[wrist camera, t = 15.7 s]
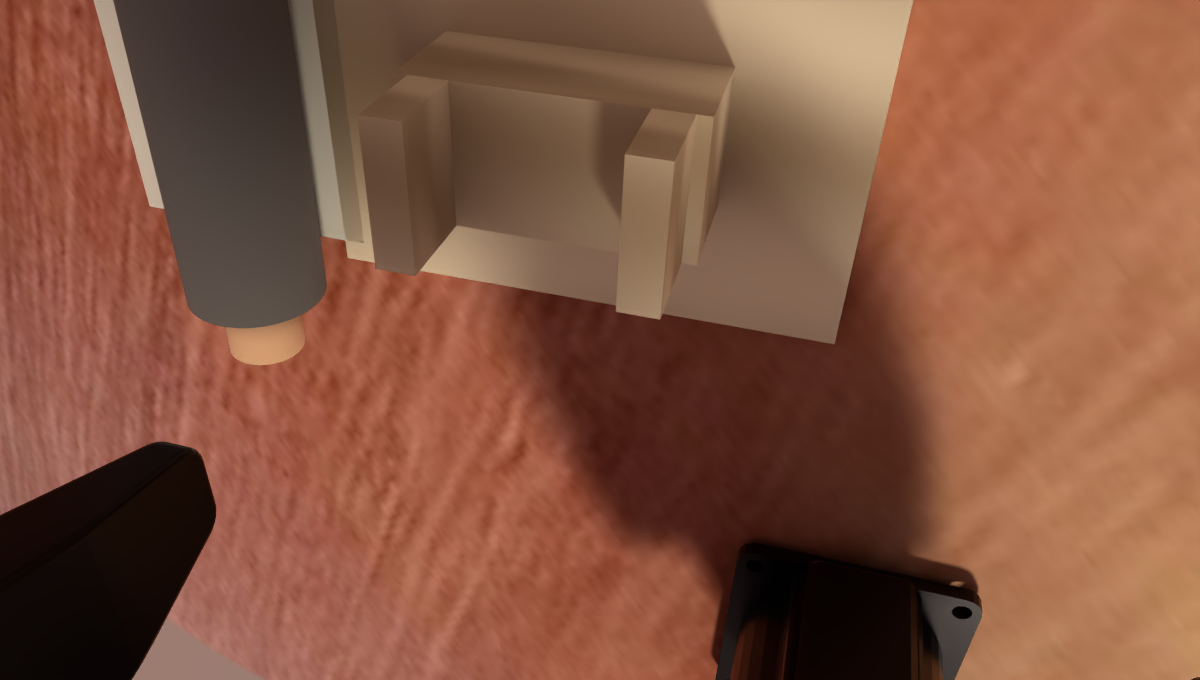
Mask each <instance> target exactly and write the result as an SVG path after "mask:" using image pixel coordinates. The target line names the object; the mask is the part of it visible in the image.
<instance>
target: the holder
mask: <svg viewBox="0 0 1200 680" xmlns="http://www.w3.org/2000/svg"><path fill="white" fill-rule="evenodd" d="M315 1H316V0H314V1H313V0H312V3H313V5H314V6H313V8H315V9H313V10H314V18H315V22H316V23H315V25H317V27H316V32H317V35H318V34H319V35H318V36H317V37H318V38H317V39H318V40H319V41H318V42H319V43H318V46H320V47H321V48H319V50H320V51H319V54H320V60H321V59H322V58H323V57H326V56H327V57H328V56H329V54H330V59H329V58H328V59H325V58H323V59H322V60H321V65H323V64H326V65H327V64H328V63H329V65H327V66H325V65H324V67H326V68H322V67H321V68H322V70H323V71H322V75H323V78H324V77H325V79H323V80H324V81H323V82H325V83H324V88H325V89H324V90H326V91H325V95H326V96H325V97H326V99H327V100H326V102H327V103H326V104H327V108H328V109H327V111H328V116H329V115H330V114H331V115H330V116H329V117H328V118H330V119H331V118H332V119H331V121H332V120H333V122H331V121H330V119H329V122H331V123H332V124H331V123H329V125H330V124H331V125H332V127H331V125H330V128H331V129H330V133H331V134H332V135H331V138H333V137H335V138H333V139H331V140H333V141H334V142H333V141H332V143H333V144H332V146H334V147H333V148H334V149H333V150H335V149H337V148H339V147H340V148H342V149H343V150H342V149H341V151H342V153H340V152H341V151H340V148H339V149H337V150H335V152H333V154H335V153H336V154H335V155H334V161H335V163H336V162H337V161H338V162H339V163H336V164H335V166H336V165H337V166H336V168H335V169H336V174H337V179H338V180H337V182H338V181H339V182H340V181H342V180H343V182H340V183H338V190H339V196H340V192H342V193H341V194H342V195H341V196H340V202H341V201H344V200H345V199H346V200H345V201H344V202H341V203H340V205H341V207H342V208H343V207H344V206H345V207H346V208H347V209H346V210H345V207H344V208H343V209H344V210H345V211H344V210H342V208H341V210H342V214H344V213H346V215H347V216H348V217H349V218H348V217H346V215H345V214H344V216H345V218H343V217H344V216H343V215H342V218H343V226H344V227H345V228H344V231H345V230H346V231H345V232H346V233H347V234H346V233H345V238H349V239H350V237H351V239H350V241H349V239H345V241H346V248H347V255H348V258H352V259H357V260H363V261H369V262H374V263H375V269H380V270H385V271H391V272H397V273H402V274H408V275H413V276H416V275H417V274H418V272H419V271H425V272H430V273H436V274H442V275H447V276H453V277H459V278H464V279H470V280H475V281H481V282H487V283H492V284H498V285H504V286H509V287H515V288H520V289H526V290H532V291H537V292H543V293H549V294H554V295H560V296H565V297H571V298H577V299H582V300H588V301H594V302H599V303H605V304H610V305H616V312H620V313H626V314H631V315H637V316H642V317H648V318H654V319H659V320H660V319H661V316H662V314H667V315H672V316H678V317H684V318H689V319H695V320H700V321H706V322H712V323H717V324H723V325H729V326H734V327H740V328H745V329H751V330H757V331H762V332H768V333H774V334H779V335H785V336H790V337H796V338H802V339H807V340H813V341H819V342H824V343H830V344H835V340H836V336H837V331H838V327H839V322H840V318H841V314H842V309H843V305H844V301H845V296H846V292H847V287H848V283H849V279H850V274H851V270H852V266H853V261H854V257H855V252H856V248H857V244H858V239H859V235H860V231H861V226H862V222H863V218H864V213H865V209H866V204H867V200H868V196H869V191H870V187H871V183H872V178H873V174H874V169H875V165H876V161H877V156H878V152H879V148H880V143H881V139H882V134H883V130H884V126H885V121H886V117H887V113H888V108H889V104H890V99H891V95H892V91H893V86H894V82H895V78H896V73H897V69H898V65H899V60H900V56H901V51H902V47H903V43H904V38H905V34H906V30H907V25H908V21H909V16H910V12H911V8H912V3H913V0H332V1H331V0H327V1H323V0H322V1H321V0H320V1H318V0H317V1H316V2H317V3H316V2H315ZM329 1H330V2H332V3H333V4H334V5H332V3H331V4H330V2H329ZM324 2H325V3H324ZM326 2H329V3H326ZM329 4H330V5H329ZM316 5H318V6H316ZM323 5H324V6H323ZM319 6H320V7H319ZM328 6H329V7H328ZM330 6H331V7H330ZM316 7H317V9H316ZM318 7H319V8H318ZM323 7H324V8H323ZM329 8H330V9H329ZM333 8H334V9H333ZM318 9H319V10H318ZM315 10H316V11H315ZM327 10H328V12H327ZM329 10H330V11H329ZM332 10H333V11H332ZM319 11H320V12H319ZM323 11H326V12H325V13H324V12H323ZM331 11H332V12H331ZM334 11H335V13H333V12H334ZM321 12H323V13H321ZM320 13H321V14H320ZM330 13H333V15H332V14H331V15H330ZM318 15H319V16H318ZM325 15H327V16H326V17H325ZM320 16H321V17H320ZM322 16H324V17H322ZM333 16H335V17H333ZM316 17H318V18H319V17H320V18H321V19H322V20H321V19H320V18H319V19H320V20H319V19H318V18H316ZM329 18H330V19H331V20H330V19H329ZM324 20H325V22H322V21H324ZM326 20H328V21H326ZM329 20H330V21H329ZM332 20H333V21H332ZM335 20H336V21H335ZM319 21H321V22H322V23H321V22H319ZM318 22H319V23H318ZM328 22H329V23H328ZM331 22H332V23H331ZM333 23H334V24H333ZM323 24H325V25H323ZM326 24H328V25H327V26H326ZM330 24H332V25H330ZM335 24H336V27H332V28H331V26H335ZM319 25H320V27H319ZM329 26H330V28H329ZM325 27H326V29H324V28H325ZM322 28H323V30H322ZM328 28H329V29H328ZM334 28H335V29H334ZM332 29H333V30H334V31H333V30H332ZM318 30H322V31H319V33H318ZM328 30H329V31H328ZM330 30H331V31H330ZM323 31H324V34H323ZM335 31H336V32H337V33H335ZM326 32H327V35H328V36H329V34H330V35H331V34H335V36H333V35H332V36H329V37H327V36H326ZM321 33H322V35H320V34H321ZM322 36H323V37H324V36H325V37H324V38H323V37H322ZM337 36H338V37H337ZM320 37H322V38H323V39H322V38H320ZM334 37H335V38H336V37H337V38H336V39H335V38H334ZM332 38H333V39H332ZM327 39H329V41H330V42H331V43H332V42H333V41H334V43H333V44H331V43H330V42H327V41H328V40H327ZM334 39H335V40H334ZM325 40H326V41H325ZM337 40H339V43H338V41H337ZM320 41H322V42H320ZM335 41H336V42H335ZM323 42H325V43H324V44H323ZM320 43H322V44H320ZM326 43H327V44H326ZM328 44H330V45H331V46H329V45H328ZM337 44H338V45H337ZM324 45H326V47H324ZM334 45H335V46H336V45H337V46H338V47H337V46H336V47H333V46H334ZM327 46H328V47H327ZM332 47H333V48H332ZM326 48H327V50H326ZM329 48H330V49H329ZM337 48H338V49H337ZM323 49H325V50H323ZM335 49H336V50H335ZM328 50H329V51H328ZM335 51H337V52H335ZM324 52H327V53H324ZM328 52H329V53H328ZM330 52H331V53H330ZM332 52H333V53H332ZM338 52H339V53H338ZM322 53H323V54H324V56H323V54H322ZM335 53H336V54H335ZM332 54H334V55H332ZM322 56H323V57H322ZM340 56H341V57H340ZM327 57H326V58H327ZM336 57H337V59H336ZM333 58H335V59H333ZM338 59H339V60H338ZM327 60H328V61H327ZM329 60H330V61H329ZM331 60H332V61H331ZM335 60H337V62H336V61H335ZM324 61H325V62H326V63H325V62H324ZM334 61H335V63H334V64H333V62H334ZM339 61H341V62H340V64H341V66H340V64H339ZM323 62H324V63H323ZM322 63H323V64H322ZM330 63H331V65H332V69H331V68H329V69H327V68H328V66H329V67H331V65H330ZM336 63H337V64H336ZM338 64H339V66H336V67H335V68H334V66H335V65H338ZM338 68H339V69H338ZM341 68H342V69H341ZM324 69H325V71H324ZM334 70H336V72H334ZM327 71H328V72H329V71H330V72H329V73H330V74H329V73H328V72H327ZM340 71H341V73H340ZM332 72H333V73H332ZM337 72H338V73H337ZM342 72H343V74H342ZM325 73H326V74H325ZM328 74H329V75H328ZM334 74H336V76H335V75H334ZM339 74H341V75H339ZM331 75H333V77H332V76H331ZM338 76H339V78H338ZM341 76H342V77H341ZM326 77H327V78H326ZM329 77H330V78H329ZM334 77H335V78H334ZM331 78H332V79H333V80H332V79H331ZM336 78H338V79H336ZM329 79H330V80H329ZM327 80H328V81H327ZM331 80H332V81H331ZM336 80H337V81H336ZM339 80H340V81H339ZM342 80H343V81H344V82H342ZM330 81H331V82H330ZM333 81H334V82H333ZM335 81H336V83H335ZM326 82H327V84H326ZM339 82H340V83H339ZM338 83H339V85H338ZM342 83H343V84H342ZM331 84H333V85H334V86H333V85H331ZM336 84H337V85H336ZM335 85H336V86H337V88H334V87H336V86H335ZM340 85H341V86H340ZM343 85H344V86H343ZM330 86H331V89H332V88H333V89H332V90H331V93H330ZM342 86H343V87H342ZM327 87H328V88H327ZM338 87H339V88H338ZM341 87H342V88H341ZM327 89H329V90H327ZM342 89H344V90H342ZM335 90H336V91H335ZM340 90H341V91H340ZM328 91H329V92H328ZM333 91H334V93H333ZM326 92H327V93H326ZM343 92H344V93H345V94H344V93H343ZM329 93H330V96H329ZM332 93H333V94H332ZM341 93H342V94H344V95H342V94H341ZM337 94H340V95H341V96H340V95H338V96H340V97H338V98H339V99H337V96H336V95H337ZM334 95H335V96H336V98H335V96H334ZM331 96H332V97H331ZM333 96H334V97H333ZM344 96H346V97H345V98H344ZM327 97H329V98H327ZM330 97H331V98H330ZM342 98H344V99H342ZM340 99H341V101H340ZM331 100H334V101H335V100H336V101H335V103H337V105H336V104H335V103H334V101H332V102H331ZM338 100H339V101H338ZM345 100H346V101H345ZM338 102H341V103H338ZM342 102H343V103H342ZM329 104H330V105H329ZM332 104H333V105H332ZM334 104H335V105H336V106H337V107H336V106H335V105H334ZM339 104H340V105H339ZM346 105H347V106H346ZM328 106H329V107H328ZM333 106H335V107H333ZM341 106H342V107H341ZM343 106H344V107H343ZM331 107H332V108H331ZM335 108H336V109H335ZM338 108H340V109H341V110H342V111H340V109H338ZM329 109H331V110H332V111H331V110H330V111H329ZM333 109H334V110H333ZM345 109H346V110H347V111H346V110H345ZM337 110H338V111H337ZM336 111H337V112H338V113H340V114H341V115H339V114H338V113H337V114H336ZM339 111H340V112H339ZM331 112H332V113H333V114H332V113H331ZM346 112H347V114H346V115H344V114H345V113H346ZM334 113H335V114H334ZM336 115H337V116H338V118H337V116H336ZM341 116H343V117H344V119H345V117H348V118H346V119H345V120H344V119H343V117H342V118H341ZM334 117H335V118H334ZM340 118H341V119H340ZM338 119H339V120H338ZM334 120H335V121H336V123H335V121H334ZM340 120H341V121H342V122H341V121H340ZM347 120H348V121H347ZM344 121H345V122H344ZM346 121H347V122H348V123H346ZM343 122H344V123H345V124H343ZM338 123H339V124H340V126H339V124H338ZM336 124H337V125H336ZM341 124H342V125H341ZM344 125H346V126H345V127H344ZM347 125H348V126H347ZM333 126H334V127H333ZM341 126H342V127H341ZM340 127H341V128H340ZM343 127H344V128H343ZM337 128H338V129H337ZM339 128H340V129H339ZM349 128H350V129H349ZM332 129H333V130H334V131H333V130H332ZM336 129H337V130H336ZM345 129H347V131H346V130H345ZM343 130H344V131H343ZM336 131H337V132H336ZM334 132H335V133H337V134H334ZM338 132H339V134H338ZM348 132H350V133H348ZM340 133H341V136H339V135H340ZM345 133H347V135H346V134H345ZM343 134H345V135H344V136H343ZM332 136H333V137H332ZM338 136H339V137H338ZM336 137H337V138H336ZM344 137H345V138H347V139H346V140H345V138H344ZM340 139H342V141H343V142H342V141H341V140H340ZM336 140H338V141H336ZM335 141H336V142H337V143H335ZM345 141H349V142H348V143H350V144H348V143H347V142H346V143H347V144H346V143H345ZM350 141H351V142H350ZM340 144H341V146H340ZM343 144H344V145H343ZM342 145H343V146H342ZM347 145H349V146H350V147H348V146H347ZM337 146H338V147H337ZM335 147H336V148H335ZM344 147H345V148H344ZM349 149H350V150H349ZM351 149H352V150H351ZM338 150H339V151H340V152H339V151H338ZM344 150H345V151H346V152H345V151H344ZM347 150H349V151H347ZM343 151H344V152H343ZM338 152H339V153H338ZM351 152H352V153H351ZM348 153H349V154H348ZM350 153H351V155H350ZM338 154H339V155H338ZM345 154H346V155H348V156H349V157H350V156H351V159H350V158H349V159H347V158H348V157H347V156H346V155H345ZM336 156H337V157H338V158H337V157H336ZM339 156H340V157H339ZM342 156H344V157H342ZM335 157H336V159H335ZM341 157H342V158H341ZM343 158H344V159H345V158H346V159H345V160H344V159H343ZM352 159H353V160H352ZM343 160H344V161H343ZM342 161H343V162H342ZM351 161H352V162H351ZM349 162H350V163H349ZM345 163H348V164H345ZM342 164H345V165H342ZM338 165H339V166H338ZM340 165H341V166H340ZM349 165H351V168H349V167H350V166H349ZM352 165H354V166H352ZM342 166H343V167H345V168H343V167H342ZM346 166H347V168H346ZM348 166H349V167H348ZM340 167H341V168H340ZM352 167H353V168H352ZM338 169H340V170H338ZM341 169H342V170H341ZM345 169H346V170H345ZM348 169H349V171H350V172H351V171H352V172H351V173H350V172H348ZM350 169H352V170H350ZM353 169H355V171H353ZM337 171H338V172H337ZM344 171H345V172H344ZM346 172H347V174H346ZM354 172H355V174H354ZM341 173H342V174H343V175H342V174H341ZM340 174H341V175H340ZM350 174H351V175H350ZM352 174H354V175H352ZM344 175H346V176H344ZM341 176H343V177H341ZM353 176H354V178H353ZM355 176H356V177H355ZM338 177H339V178H338ZM344 177H345V178H344ZM350 177H351V178H352V179H351V178H350ZM343 178H344V179H343ZM348 178H349V180H348ZM346 179H347V180H346ZM353 180H355V181H353ZM351 181H352V182H351ZM348 182H350V185H349V183H348ZM347 183H348V184H347ZM356 183H357V184H356ZM343 184H344V185H343ZM355 184H356V186H357V187H354V186H355ZM339 185H341V187H339ZM345 185H346V186H345ZM342 186H344V187H342ZM349 186H350V187H349ZM346 187H347V188H346ZM343 188H346V190H345V189H343ZM356 188H357V190H356ZM340 189H341V191H340ZM347 190H348V191H349V190H350V191H349V192H346V191H347ZM353 190H354V191H355V190H356V191H355V192H354V191H353ZM343 192H344V193H343ZM351 192H354V193H355V194H356V192H357V194H356V196H355V194H354V193H352V195H353V196H352V195H351V194H349V193H351ZM346 194H347V195H346ZM348 195H349V196H348ZM344 196H346V197H347V198H346V197H344ZM354 197H355V198H354ZM342 198H343V199H342ZM350 198H353V199H354V203H353V202H352V201H353V199H350ZM356 198H357V199H356ZM347 199H348V200H347ZM355 199H356V200H355ZM349 200H351V201H349ZM357 200H359V201H358V203H357V202H355V201H357ZM351 202H352V203H353V204H354V205H353V204H351ZM345 203H346V204H347V205H345ZM348 204H349V205H350V208H352V209H351V212H350V213H349V210H350V208H349V205H348ZM356 204H357V206H356ZM358 204H359V207H358ZM343 205H344V206H343ZM351 206H353V207H351ZM354 206H355V207H354ZM348 208H349V210H348ZM354 208H355V209H354ZM359 208H360V209H359ZM358 210H359V211H358ZM347 211H348V212H347ZM353 211H354V212H353ZM355 211H357V212H355ZM343 212H344V213H343ZM359 212H360V213H359ZM356 213H359V214H357V215H356ZM350 215H352V217H351V216H350ZM353 215H354V216H355V217H356V218H355V217H354V216H353ZM359 215H360V217H359ZM357 217H359V218H358V219H357ZM346 218H347V219H346ZM351 218H352V219H351ZM353 219H354V220H353ZM360 219H361V222H357V223H356V221H360ZM344 220H345V221H346V222H345V221H344ZM347 220H348V221H347ZM350 220H351V221H352V220H353V221H352V222H351V221H350ZM349 223H350V224H349ZM351 223H356V224H353V225H352V224H351ZM345 224H346V225H348V224H349V226H346V225H345ZM358 224H359V226H358ZM360 224H361V226H360ZM353 226H354V227H355V226H357V227H358V228H359V229H360V230H359V231H358V232H360V233H358V232H357V231H356V230H358V228H357V227H355V228H356V229H355V228H354V227H353ZM351 227H353V228H351ZM361 229H362V231H361ZM349 230H350V231H349ZM347 231H348V232H347ZM351 231H355V232H353V234H352V232H351ZM356 232H357V233H356ZM362 232H363V233H362ZM350 233H351V234H350ZM355 234H356V235H355ZM358 234H359V235H358ZM360 234H362V235H360ZM347 235H348V237H347ZM353 235H355V236H353ZM362 236H363V237H362ZM359 237H360V238H359ZM361 237H362V238H361ZM358 238H359V239H358ZM362 240H363V241H362ZM359 241H360V242H359Z"/></svg>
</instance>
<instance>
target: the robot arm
mask: <svg viewBox="0 0 1200 680" xmlns="http://www.w3.org/2000/svg"><path fill="white" fill-rule="evenodd" d="M215 519H216V504H215V500H214V496H213V493H212V489H211V486H210V482H209V479H208V475H207V472H206V468H205V465H204V461H203V459H202V456H201V455H200V454H199V453H198V451H197V450H195V449H193V448H190V447H186V446H182V445H177V444H173V443H168V442H154V443H151V444H149V445H146V446H144V447H142V448H140V449H138V450H136V451H133V452H131V453H129V454H127V455H125V456H123V457H121V458H119V459H117V460H115V461H113V462H110V463H108V464H106V465H104V466H102V467H100V468H98V469H96V470H94V471H92V472H90V473H87V474H85V475H83V476H81V477H79V478H77V479H75V480H73V481H71V482H69V483H67V484H64V485H62V486H60V487H58V488H56V489H54V490H52V491H50V492H48V493H46V494H44V495H41V496H39V497H37V498H35V499H33V500H31V501H29V502H27V503H25V504H23V505H20V506H18V507H16V508H14V509H12V510H10V511H8V512H6V513H4V514H2V515H0V680H132V678H133V677H134V675H135V673H136V672H137V670H138V669H139V667H140V666H141V664H142V662H143V660H144V659H145V657H146V655H147V653H148V651H149V650H150V648H151V646H152V644H153V643H154V640H155V639H156V637H157V635H158V633H159V631H160V629H161V627H162V625H163V623H164V621H165V620H166V618H167V616H168V614H169V612H170V610H171V608H172V606H173V604H174V602H175V601H176V599H177V597H178V595H179V593H180V591H181V589H182V587H183V585H184V583H185V581H186V580H187V578H188V576H189V574H190V572H191V570H192V568H193V566H194V564H195V562H196V560H197V559H198V557H199V555H200V553H201V551H202V549H203V547H204V545H205V543H206V541H207V539H208V537H209V536H210V534H211V531H212V529H213V526H214V523H215ZM753 560H758V561H760V562H755V561H753ZM958 606H965V607H958ZM981 617H982V605H981V599H980V597H979V595H977V594H976V593H975V592H974V591H971V590H968V589H965V588H961V587H956V586H951V585H947V584H942V583H938V582H933V581H929V580H924V579H920V578H915V577H911V576H906V575H901V574H897V573H892V572H888V571H883V570H879V569H874V568H870V567H865V566H860V565H856V564H851V563H847V562H842V561H838V560H833V559H829V558H824V557H820V556H815V555H810V554H806V553H801V552H797V551H792V550H788V549H783V548H779V547H774V546H770V545H765V544H760V543H748V544H745V545H744V546H742V547H741V549H740V551H739V555H738V560H737V565H736V571H735V576H734V582H733V587H732V592H731V598H730V603H729V609H728V614H727V620H726V625H725V630H724V636H723V641H722V647H721V652H720V658H719V663H718V668H717V674H716V679H715V680H955V677H956V675H957V673H958V670H959V668H960V666H961V663H962V661H963V659H964V657H965V654H966V652H967V650H968V647H969V645H970V643H971V640H972V638H973V636H974V634H975V631H976V629H977V627H978V624H979V622H980V620H981ZM1192 680H1200V677H1196V678H1194V679H1192Z"/></svg>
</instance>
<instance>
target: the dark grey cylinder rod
mask: <svg viewBox="0 0 1200 680" xmlns="http://www.w3.org/2000/svg"><path fill="white" fill-rule="evenodd" d="M113 2H114V6H115V10H116V14H117V18H118V22H119V26H120V30H121V35H122V39H123V43H124V47H125V51H126V55H127V59H128V63H129V67H130V71H131V75H132V79H133V84H134V88H135V92H136V96H137V100H138V104H139V108H140V112H141V116H142V120H143V124H144V128H145V132H146V137H147V141H148V145H149V149H150V153H151V157H152V161H153V165H154V169H155V173H156V177H157V181H158V186H159V190H160V194H161V198H162V202H163V206H164V210H165V214H166V218H167V222H168V226H169V230H170V235H171V239H172V243H173V247H174V251H175V255H176V259H177V263H178V267H179V271H180V275H181V279H182V283H183V288H184V292H185V296H186V300H187V304H188V306H189V309H190V310H191V311H192V313H193V314H195V315H196V316H197V317H198V318H200V319H202V320H203V321H206V322H208V323H211V324H214V325H217V326H222V327H225V328H226V332H227V337H228V341H229V346H230V350H231V353H232V355H233V356H234V357H235V358H236V359H237V360H239V361H241V362H244V363H247V364H252V365H269V364H275V363H279V362H282V361H285V360H287V359H289V358H291V357H293V356H294V355H296V354H297V353H298V352H299V351H300V350H301V349H302V348H303V346H304V344H305V333H304V327H303V321H302V314H304V313H305V312H307V311H309V310H310V309H311V308H313V307H314V306H315V305H316V304H317V303H318V302H319V301H320V300H321V299H322V297H323V295H324V294H325V291H326V286H327V284H326V276H325V269H324V262H323V254H322V247H321V240H320V233H319V225H318V218H317V211H316V203H315V196H314V189H313V182H312V174H311V167H310V160H309V152H308V145H307V138H306V131H305V123H304V116H303V109H302V102H301V94H300V87H299V80H298V72H297V65H296V58H295V51H294V43H293V36H292V29H291V21H290V14H289V7H288V0H113Z"/></svg>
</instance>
